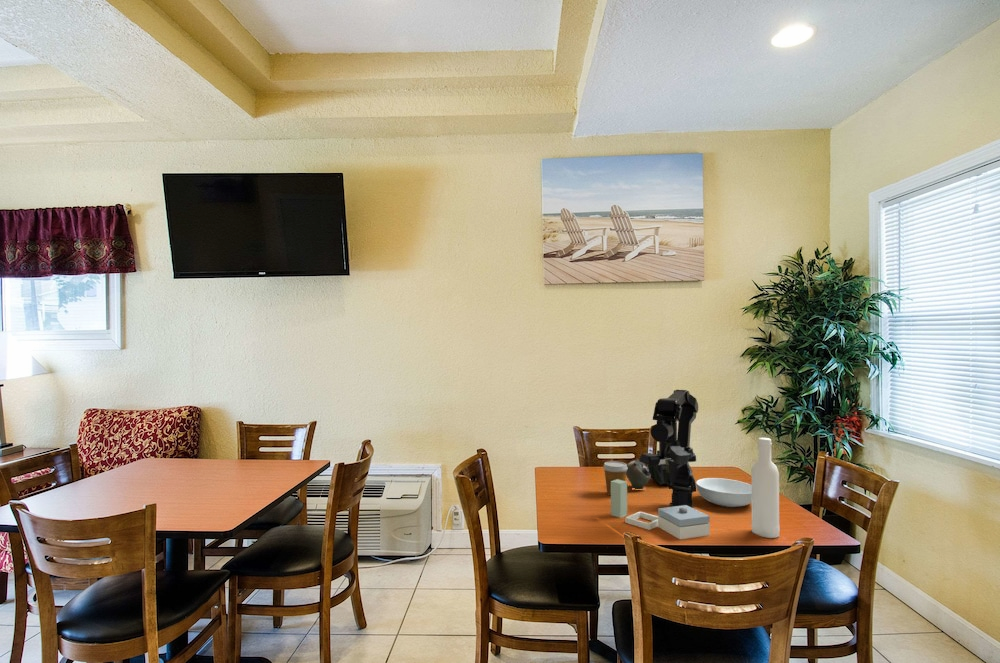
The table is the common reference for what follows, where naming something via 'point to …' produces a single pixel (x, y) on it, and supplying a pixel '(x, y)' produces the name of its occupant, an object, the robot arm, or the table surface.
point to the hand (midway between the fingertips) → (668, 483)
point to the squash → (655, 473)
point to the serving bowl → (725, 491)
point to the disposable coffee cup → (614, 473)
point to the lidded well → (684, 529)
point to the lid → (683, 515)
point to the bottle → (765, 493)
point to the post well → (633, 521)
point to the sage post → (619, 498)
